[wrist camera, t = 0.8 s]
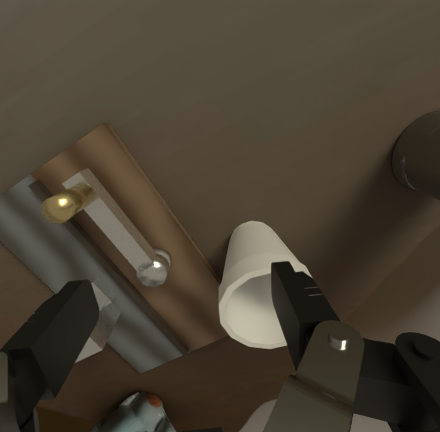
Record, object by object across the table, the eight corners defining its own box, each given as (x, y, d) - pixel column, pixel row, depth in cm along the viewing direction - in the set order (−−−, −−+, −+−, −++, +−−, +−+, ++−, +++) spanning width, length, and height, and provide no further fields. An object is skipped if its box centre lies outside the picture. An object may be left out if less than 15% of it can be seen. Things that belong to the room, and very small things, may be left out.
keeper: (96, 276, 35) (71, 311, 29) (126, 308, 37) (108, 346, 31) (64, 294, 36) (34, 331, 30) (95, 324, 38) (72, 363, 32)
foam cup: (205, 249, 35) (198, 320, 23) (245, 197, 32) (261, 248, 20) (258, 280, 37) (278, 361, 25) (300, 234, 34) (345, 301, 22)
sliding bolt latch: (108, 123, 28) (97, 124, 26) (248, 318, 40) (250, 332, 37) (-17, 210, 32) (-37, 218, 30) (142, 365, 44) (138, 380, 41)
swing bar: (174, 269, 33) (163, 308, 26) (152, 281, 33) (136, 322, 27) (92, 165, 27) (53, 181, 21) (68, 181, 28) (23, 202, 22)
